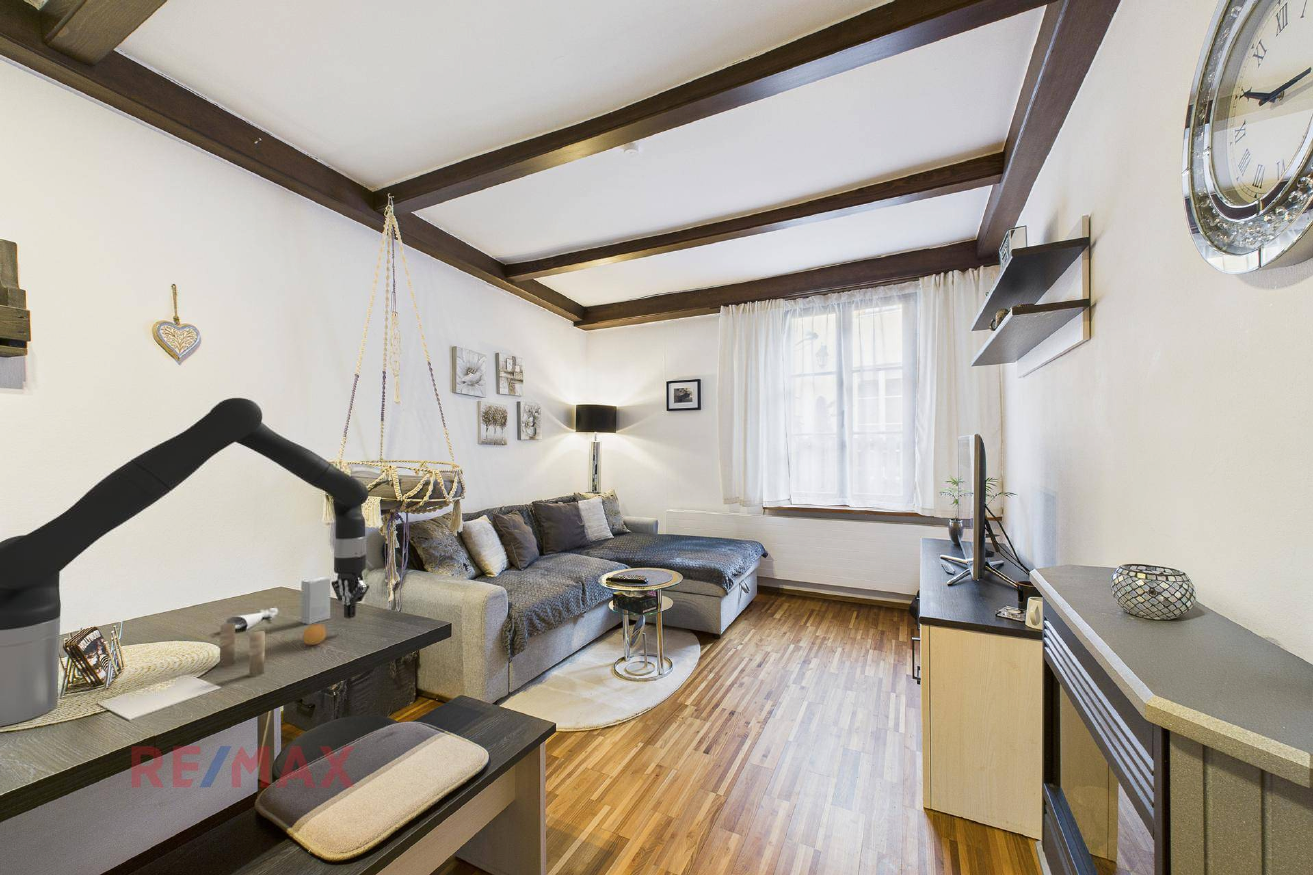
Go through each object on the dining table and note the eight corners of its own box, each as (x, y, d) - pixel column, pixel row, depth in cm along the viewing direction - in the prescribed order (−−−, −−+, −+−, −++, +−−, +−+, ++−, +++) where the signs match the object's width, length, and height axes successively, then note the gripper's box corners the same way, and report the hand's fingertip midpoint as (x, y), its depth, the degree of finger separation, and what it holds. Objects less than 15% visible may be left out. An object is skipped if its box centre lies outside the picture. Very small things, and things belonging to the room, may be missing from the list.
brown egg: (310, 649, 127) (310, 629, 127) (298, 646, 129) (298, 626, 129) (330, 642, 131) (330, 623, 131) (318, 639, 133) (318, 620, 133)
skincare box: (322, 616, 151) (322, 575, 152) (330, 618, 149) (331, 577, 149) (299, 622, 146) (300, 580, 146) (308, 625, 144) (309, 582, 144)
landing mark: (129, 720, 93) (129, 719, 93) (96, 703, 99) (96, 702, 99) (221, 688, 106) (221, 687, 106) (186, 675, 112) (186, 674, 112)
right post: (253, 677, 111) (254, 635, 111) (246, 675, 112) (247, 633, 112) (266, 672, 113) (267, 632, 114) (259, 670, 115) (260, 630, 115)
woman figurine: (206, 618, 136) (256, 603, 154) (205, 635, 136) (255, 618, 154) (251, 618, 137) (295, 602, 155) (250, 635, 136) (294, 617, 154)
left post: (223, 666, 116) (224, 627, 116) (217, 664, 117) (218, 625, 118) (236, 662, 119) (237, 623, 119) (230, 660, 120) (231, 622, 120)
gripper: (321, 554, 138) (320, 618, 138) (352, 558, 132) (352, 625, 132) (348, 548, 145) (347, 610, 144) (379, 553, 139) (378, 616, 139)
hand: (349, 617), depth 138 cm, fingers closed
